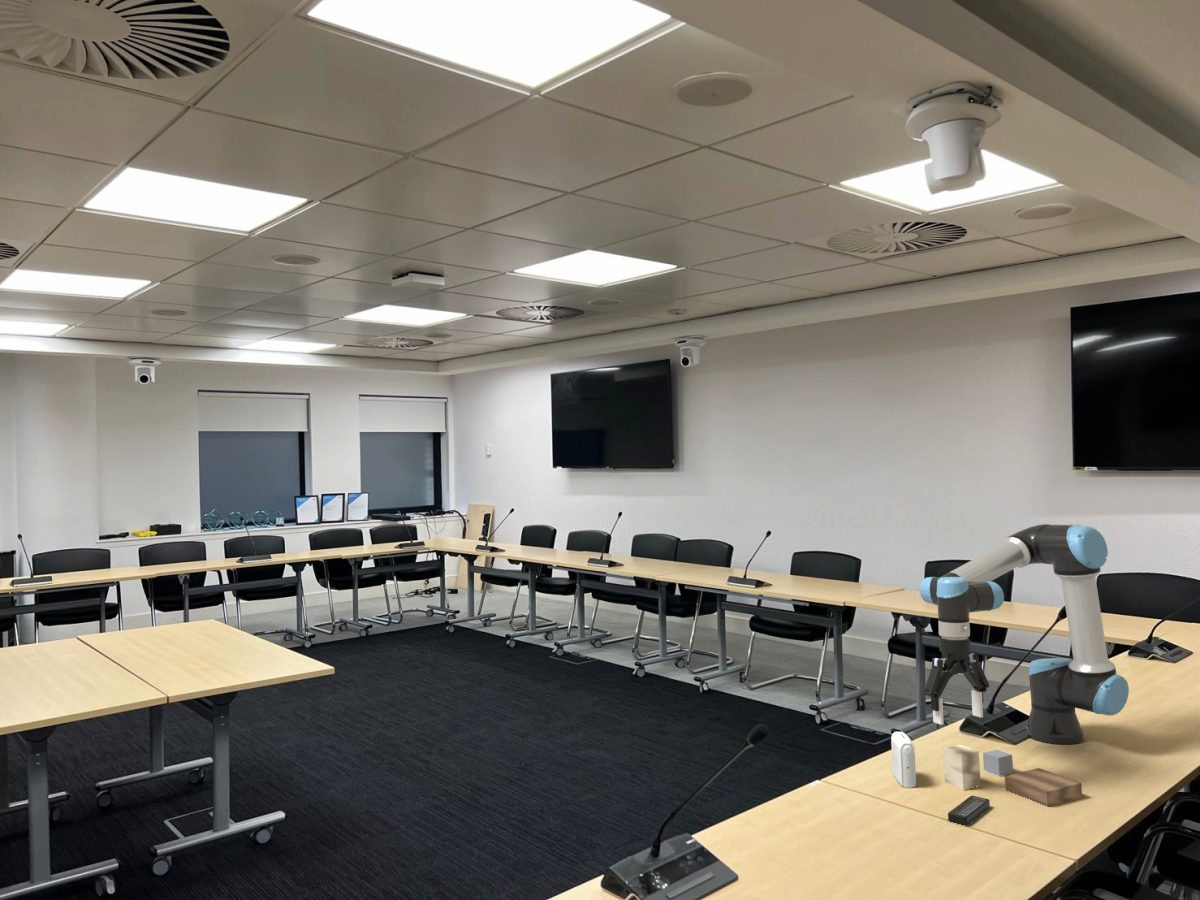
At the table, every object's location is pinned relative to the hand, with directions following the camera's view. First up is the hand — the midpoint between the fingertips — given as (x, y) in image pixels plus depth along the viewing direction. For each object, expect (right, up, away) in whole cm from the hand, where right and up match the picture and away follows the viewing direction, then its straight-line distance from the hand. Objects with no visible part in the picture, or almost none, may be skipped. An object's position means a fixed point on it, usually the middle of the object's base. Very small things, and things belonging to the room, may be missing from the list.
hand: (958, 719), depth 214 cm
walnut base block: (+17, -16, -9) cm, 25 cm away
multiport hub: (-6, -17, -19) cm, 26 cm away
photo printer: (-13, -18, +3) cm, 22 cm away
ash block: (+1, -17, -1) cm, 17 cm away
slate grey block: (+14, -17, +7) cm, 23 cm away
